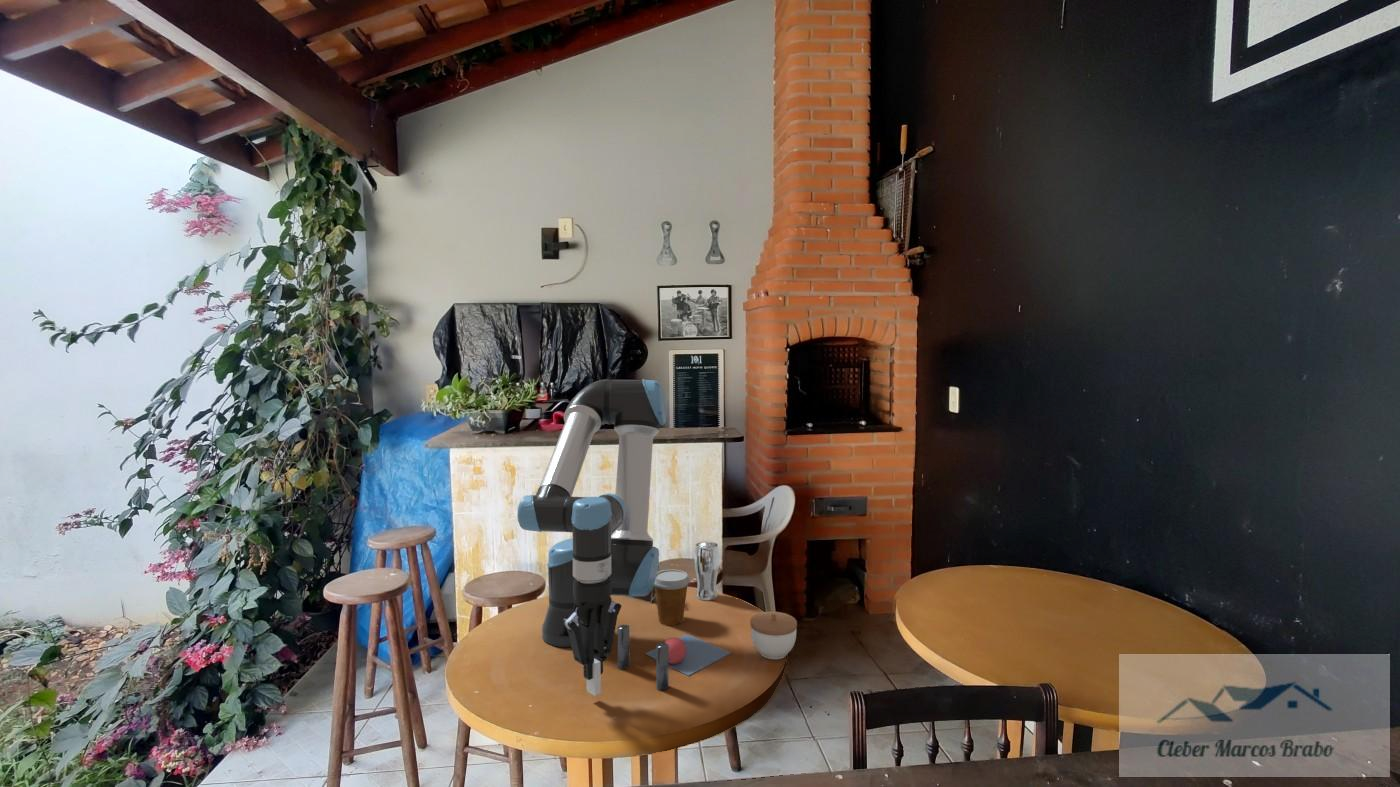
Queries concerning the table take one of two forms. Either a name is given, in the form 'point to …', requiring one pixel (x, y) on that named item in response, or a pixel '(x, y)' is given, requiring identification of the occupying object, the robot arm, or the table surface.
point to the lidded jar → (773, 634)
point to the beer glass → (706, 569)
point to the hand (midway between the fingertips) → (593, 691)
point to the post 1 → (623, 647)
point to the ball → (676, 650)
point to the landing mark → (695, 655)
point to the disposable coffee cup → (671, 595)
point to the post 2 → (662, 666)
